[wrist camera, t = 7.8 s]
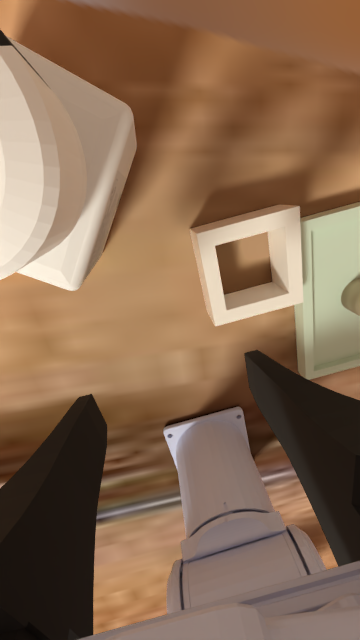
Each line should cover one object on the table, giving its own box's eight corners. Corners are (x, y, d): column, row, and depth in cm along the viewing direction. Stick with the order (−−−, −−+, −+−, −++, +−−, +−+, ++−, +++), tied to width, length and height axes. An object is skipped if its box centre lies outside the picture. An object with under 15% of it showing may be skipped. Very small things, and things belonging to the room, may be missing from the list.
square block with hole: (285, 289, 22) (303, 302, 20) (207, 311, 22) (215, 326, 19) (279, 204, 19) (299, 205, 17) (189, 228, 19) (196, 233, 17)
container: (-20, 212, 17) (-368, 250, 5) (2, 70, 15) (-576, -440, 3) (100, 259, 19) (35, 359, 8) (139, 143, 17) (129, 21, 5)
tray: (398, 343, 26) (411, 351, 25) (298, 371, 26) (305, 380, 25) (420, 185, 20) (439, 184, 19) (289, 220, 20) (299, 222, 18)
